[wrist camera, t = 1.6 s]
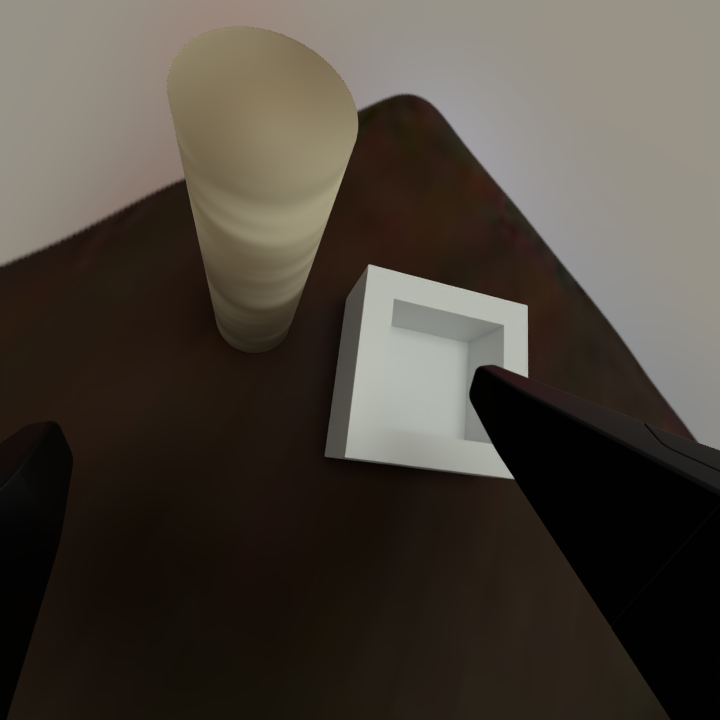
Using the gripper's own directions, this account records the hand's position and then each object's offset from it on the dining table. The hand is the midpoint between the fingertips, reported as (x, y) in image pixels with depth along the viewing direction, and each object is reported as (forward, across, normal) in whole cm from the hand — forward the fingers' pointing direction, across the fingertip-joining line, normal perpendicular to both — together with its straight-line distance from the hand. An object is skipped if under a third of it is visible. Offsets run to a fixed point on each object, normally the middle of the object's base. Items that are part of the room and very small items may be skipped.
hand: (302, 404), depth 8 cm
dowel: (+13, 0, +4) cm, 14 cm away
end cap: (+10, -9, +8) cm, 15 cm away
